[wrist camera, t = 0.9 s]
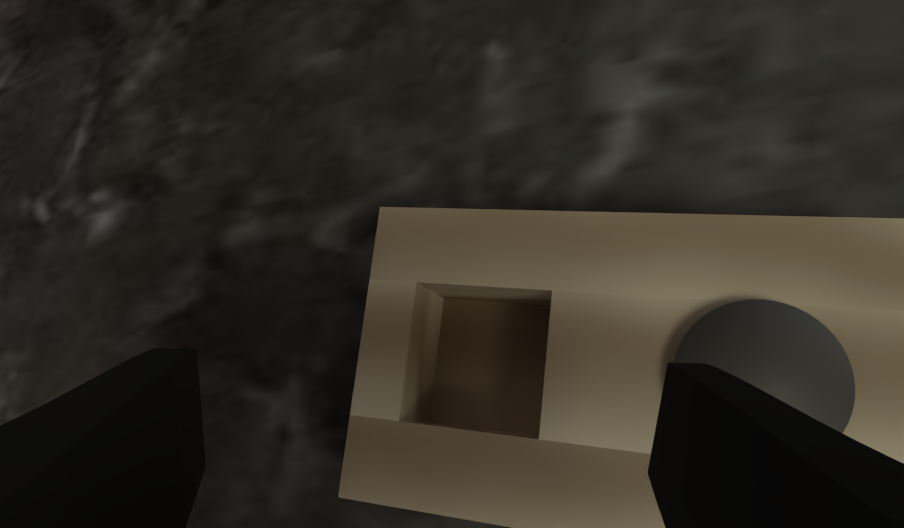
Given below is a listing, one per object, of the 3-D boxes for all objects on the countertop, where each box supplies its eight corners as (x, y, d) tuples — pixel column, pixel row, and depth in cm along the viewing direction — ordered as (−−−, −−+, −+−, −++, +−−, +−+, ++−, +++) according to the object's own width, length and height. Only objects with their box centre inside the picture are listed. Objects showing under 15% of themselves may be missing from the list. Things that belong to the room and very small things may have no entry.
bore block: (886, 571, 19) (938, 605, 15) (384, 488, 23) (330, 498, 20) (882, 253, 20) (928, 213, 17) (417, 235, 25) (373, 201, 22)
